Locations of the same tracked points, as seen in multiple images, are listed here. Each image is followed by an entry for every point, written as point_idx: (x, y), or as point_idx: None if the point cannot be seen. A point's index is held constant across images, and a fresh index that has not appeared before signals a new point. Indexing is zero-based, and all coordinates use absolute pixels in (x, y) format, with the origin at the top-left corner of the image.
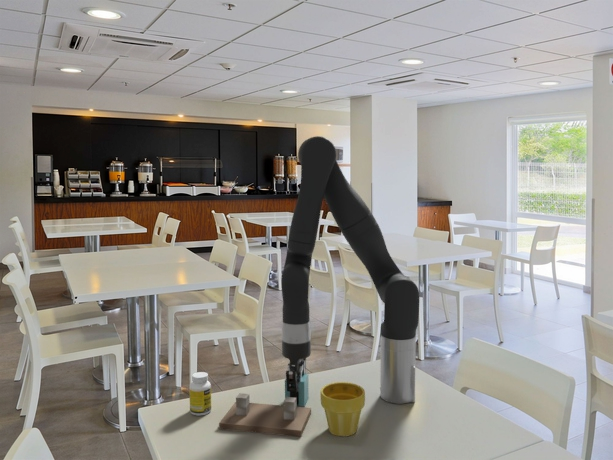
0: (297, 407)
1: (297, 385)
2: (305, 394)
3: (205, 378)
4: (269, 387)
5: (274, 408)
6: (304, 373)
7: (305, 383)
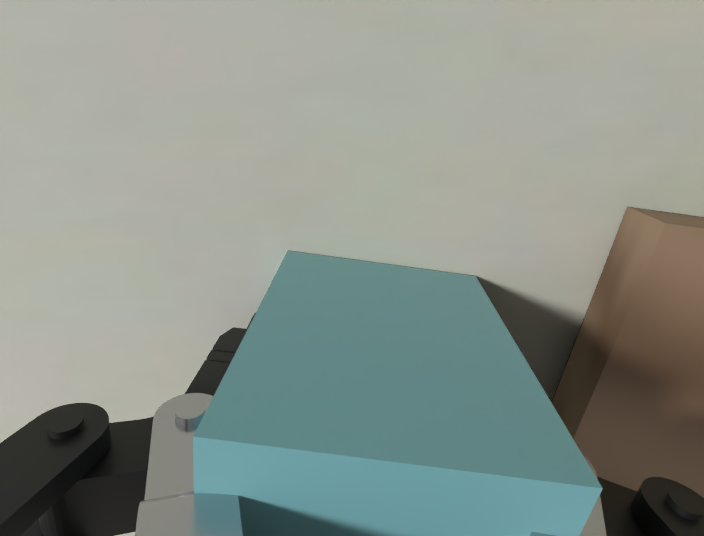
0: (625, 355)
1: (602, 530)
2: (444, 320)
3: None
4: (125, 533)
5: None
6: (232, 524)
7: (474, 417)
